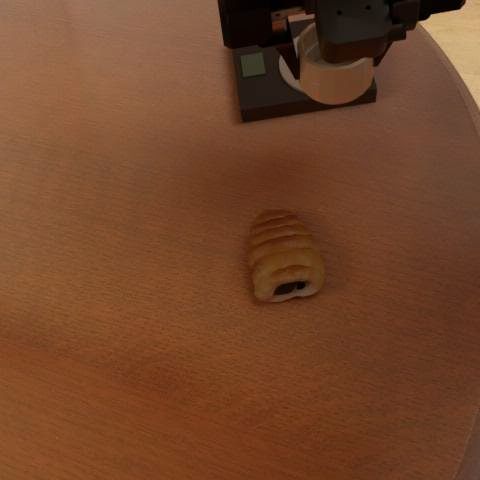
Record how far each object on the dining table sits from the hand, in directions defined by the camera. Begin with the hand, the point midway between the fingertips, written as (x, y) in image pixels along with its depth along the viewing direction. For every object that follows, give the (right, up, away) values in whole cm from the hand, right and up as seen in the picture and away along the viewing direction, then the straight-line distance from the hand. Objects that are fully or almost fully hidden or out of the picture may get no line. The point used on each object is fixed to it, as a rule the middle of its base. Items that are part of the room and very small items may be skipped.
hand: (335, 70), depth 66 cm
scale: (0, +3, +16) cm, 16 cm away
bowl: (0, -1, +1) cm, 1 cm away
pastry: (-4, -17, +3) cm, 18 cm away
